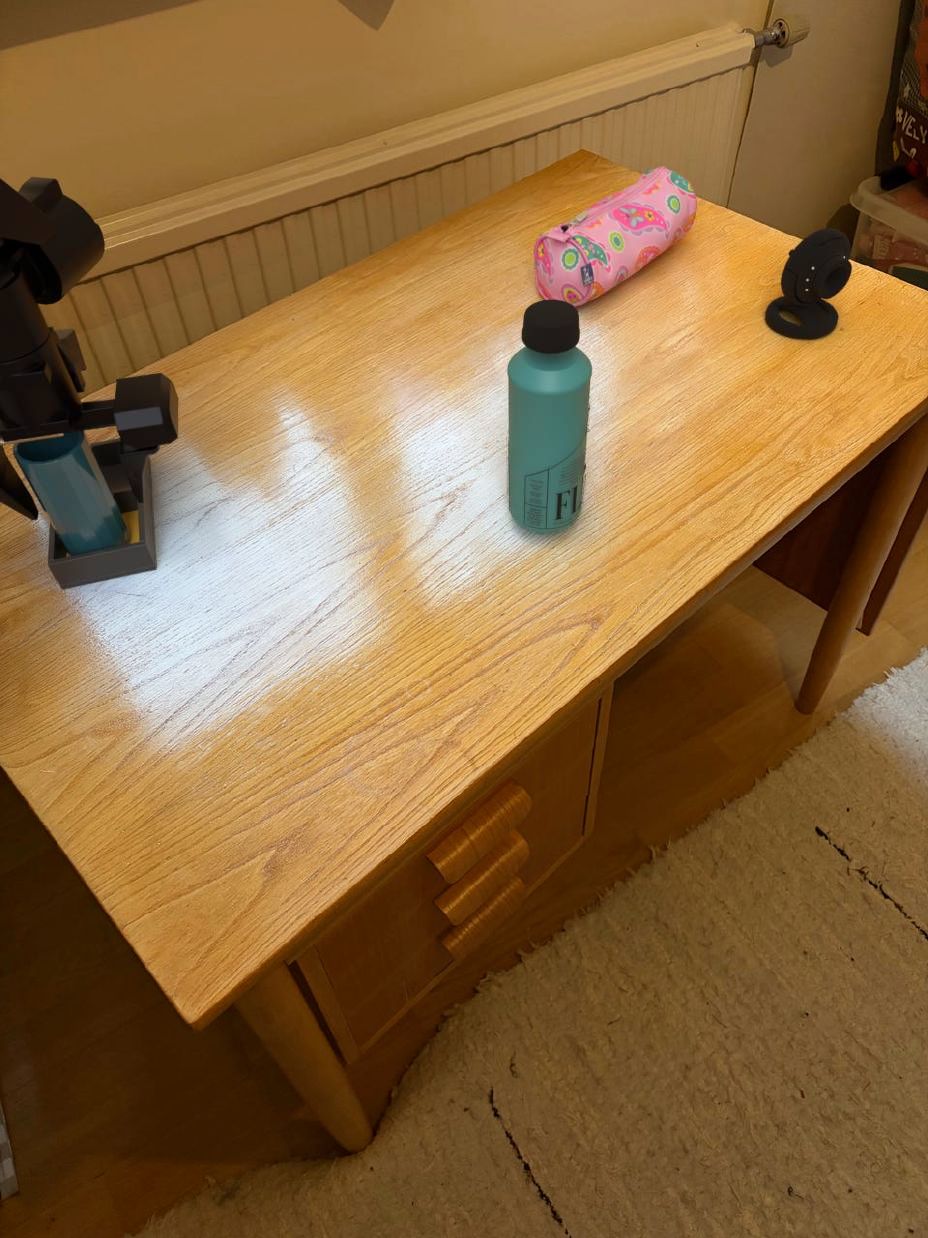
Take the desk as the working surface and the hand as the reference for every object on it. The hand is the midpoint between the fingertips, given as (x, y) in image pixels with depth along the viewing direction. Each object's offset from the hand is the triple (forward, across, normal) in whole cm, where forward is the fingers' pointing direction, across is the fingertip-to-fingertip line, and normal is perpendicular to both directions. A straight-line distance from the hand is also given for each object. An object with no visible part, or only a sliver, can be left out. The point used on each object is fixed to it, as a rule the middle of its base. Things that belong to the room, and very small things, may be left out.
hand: (89, 508), depth 72 cm
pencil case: (+5, -56, -33) cm, 65 cm away
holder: (+5, 0, -4) cm, 6 cm away
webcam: (+5, -72, -18) cm, 74 cm away
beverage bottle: (+5, -37, +6) cm, 38 cm away
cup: (+4, 0, 0) cm, 4 cm away
